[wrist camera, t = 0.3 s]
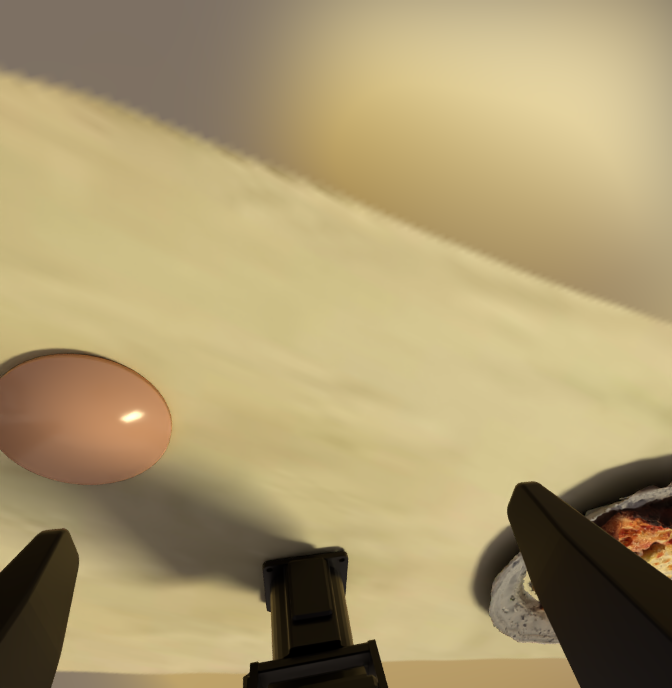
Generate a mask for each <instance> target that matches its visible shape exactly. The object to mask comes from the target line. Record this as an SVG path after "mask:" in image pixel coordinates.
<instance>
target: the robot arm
mask: <svg viewBox="0 0 672 688" xmlns="http://www.w3.org/2000/svg"><path fill="white" fill-rule="evenodd" d="M507 515H508V519H509V522H510V524H511V527H512V530H513V533H514V536H515V538H516V541H517V544H518V547H519V549H520V552H521V555H522V558H523V560H524V563H525V566H526V569H527V571H528V574H529V577H530V580H531V582H532V585H533V587H534V589H535V592H536V594H537V596H538V598H539V601H540V603H541V605H542V607H543V609H544V611H545V613H546V615H547V618H548V620H549V622H550V624H551V626H552V628H553V630H554V632H555V634H556V637H557V639H558V641H559V643H560V645H561V647H562V649H563V651H564V653H565V656H566V658H567V660H568V662H569V664H570V666H571V668H572V670H573V672H574V674H575V677H576V679H577V681H578V683H579V685H580V687H581V688H672V580H671V579H670V578H669V577H667V576H666V575H664V574H663V573H662V572H660V571H659V570H658V569H656V568H655V567H653V566H652V565H651V564H649V563H648V562H647V561H645V560H644V559H642V558H641V557H640V556H638V555H637V554H636V553H634V552H633V551H631V550H630V549H629V548H627V547H626V546H625V545H623V544H622V543H621V542H619V541H618V540H616V539H615V538H614V537H612V536H611V535H610V534H608V533H607V532H605V531H604V530H603V529H601V528H600V527H599V526H597V525H596V524H594V523H593V522H592V521H590V520H589V519H588V518H586V517H585V516H583V515H582V514H581V513H579V512H578V511H577V510H575V509H574V508H573V507H571V506H570V505H568V504H567V503H566V502H564V501H563V500H562V499H560V498H559V497H557V496H556V495H555V494H553V493H552V492H551V491H549V490H548V489H546V488H545V487H544V486H542V485H541V484H539V483H537V482H533V481H531V482H521V483H518V484H517V485H516V486H515V488H514V491H513V494H512V496H511V499H510V501H509V504H508V507H507ZM78 567H79V555H78V552H77V550H76V547H75V545H74V542H73V540H72V538H71V535H70V533H69V531H68V530H66V529H64V528H62V529H52V530H45V531H42V532H40V533H39V534H38V535H37V536H35V538H34V539H33V540H32V541H31V542H30V543H29V544H28V545H27V546H26V547H25V548H24V549H23V550H22V551H21V552H20V553H19V554H18V555H17V556H16V557H15V558H14V559H13V560H12V561H11V562H10V563H9V564H8V565H7V566H6V567H5V568H4V569H3V570H2V571H1V572H0V688H51V685H52V683H53V679H54V676H55V673H56V670H57V666H58V663H59V659H60V655H61V651H62V647H63V642H64V637H65V632H66V627H67V622H68V617H69V612H70V607H71V602H72V597H73V592H74V587H75V582H76V577H77V573H78ZM347 569H348V555H347V553H346V552H344V551H341V552H333V553H326V554H318V555H311V556H303V557H296V558H288V559H281V560H273V561H267V562H265V563H264V564H263V577H264V587H265V597H266V608H267V611H269V612H271V628H272V654H273V660H272V661H267V662H261V663H259V662H253V663H250V673H249V674H247V675H246V676H244V677H243V688H388V685H387V682H386V678H385V674H384V671H383V667H382V663H381V659H380V656H379V652H378V648H377V645H376V641H375V639H374V640H369V641H367V643H361V644H356V645H354V644H353V639H352V633H351V627H350V622H349V616H348V611H347V605H346V599H345V594H346V581H347Z"/></svg>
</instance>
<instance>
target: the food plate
mask: <svg viewBox="0 0 672 688" xmlns="http://www.w3.org/2000/svg"><path fill="white" fill-rule="evenodd" d="M625 498H629V499H625ZM625 498H620V499H624V500H623V501H619V502H616V503H613V504H610V505H605V506H601V507H598V508H594V509H592V510H588V511H587V512H586V514H585V517H586V518H588V519H589V520H590V521H592V522H593V523H594V524H596V525H597V526H599V527H600V528H601V529H603V530H604V531H605V532H607V533H608V534H610V535H611V536H612V537H614V538H615V539H616V540H618V541H619V542H621V543H622V544H623V545H625V546H626V547H627V548H629V549H630V550H631V551H633V552H634V553H636V554H637V555H638V556H640V557H641V558H642V559H644V560H645V561H647V562H648V563H649V564H651V565H652V566H653V567H655V568H656V569H658V570H659V571H660V572H662V573H663V574H664V575H666V576H667V577H669V578H670V579H671V580H672V481H671V483H670V485H669V486H667V487H665V488H658V486H656V485H653V486H651V485H650V486H647V487H646V488H643V489H642V490H640V491H637V492H636V493H635V494H633V495H630V496H629V497H625ZM526 571H527V569H526V566H525V563H524V560H523V558H522V555H521V552H519V554H518V555H516V556H515V557H514V558H513V560H511V561H510V562H509V564H507V566H505V567H504V569H503V570H502V572H500V573H499V574H498V575H497V577H496V578H495V580H494V582H493V583H492V590H491V593H490V595H491V599H492V600H491V601H490V608H489V611H490V612H489V616H490V617H491V620H492V622H493V625H495V626H496V627H497V629H499V631H500V632H502V633H503V634H505V635H507V636H510V637H511V638H513V639H514V640H516V641H517V642H523V643H524V642H525V643H526V642H531V643H539V644H556V643H559V641H558V639H557V637H556V634H555V632H554V630H553V628H552V626H551V624H550V622H549V620H548V618H547V615H546V613H545V611H544V609H543V607H542V605H541V603H540V602H539V601H537V600H536V599H535V598H533V597H532V596H531V595H530V594H529V593H528V592H526V591H525V590H524V586H523V583H524V580H523V578H524V577H525V576H526ZM530 585H531V587H532V589H533V591H535V589H534V587H533V585H532V583H531V584H530ZM535 595H536V592H535ZM495 626H494V627H495Z"/></svg>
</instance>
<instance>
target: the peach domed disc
mask: <svg viewBox="0 0 672 688" xmlns="http://www.w3.org/2000/svg"><path fill="white" fill-rule="evenodd" d="M171 431H172V420H171V414H170V411H169V408H168V406H167V404H166V402H165V400H164V398H163V397H162V395H161V394H160V393H159V391H158V390H157V389H156V388H155V387H154V386H153V385H152V384H151V383H150V382H149V381H147V380H146V379H145V378H144V377H142V376H141V375H139V374H138V373H136V372H135V371H133V370H131V369H129V368H127V367H125V366H123V365H121V364H118V363H116V362H113V361H110V360H107V359H103V358H100V357H95V356H89V355H81V354H55V355H47V356H42V357H38V358H34V359H31V360H28V361H26V362H23V363H21V364H19V365H17V366H15V367H14V368H12V369H11V370H9V371H8V372H7V373H5V374H4V375H3V376H2V377H1V378H0V450H1V451H2V452H3V453H4V454H6V455H7V456H8V457H9V458H10V459H11V460H13V461H14V462H16V463H17V464H18V465H20V466H22V467H24V468H25V469H27V470H29V471H31V472H33V473H35V474H38V475H40V476H43V477H46V478H49V479H52V480H56V481H60V482H66V483H71V484H81V485H98V484H108V483H114V482H119V481H123V480H126V479H129V478H132V477H134V476H136V475H138V474H141V473H142V472H144V471H146V470H147V469H149V468H150V467H151V466H153V465H154V464H155V463H156V462H157V461H158V460H159V459H160V458H161V457H162V455H163V454H164V452H165V451H166V448H167V446H168V444H169V440H170V436H171Z"/></svg>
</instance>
